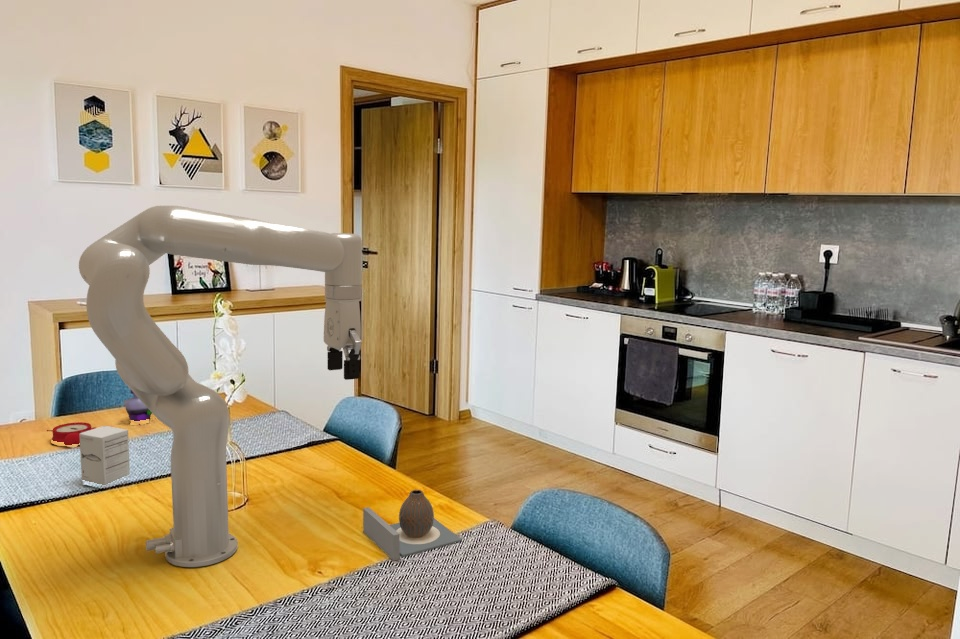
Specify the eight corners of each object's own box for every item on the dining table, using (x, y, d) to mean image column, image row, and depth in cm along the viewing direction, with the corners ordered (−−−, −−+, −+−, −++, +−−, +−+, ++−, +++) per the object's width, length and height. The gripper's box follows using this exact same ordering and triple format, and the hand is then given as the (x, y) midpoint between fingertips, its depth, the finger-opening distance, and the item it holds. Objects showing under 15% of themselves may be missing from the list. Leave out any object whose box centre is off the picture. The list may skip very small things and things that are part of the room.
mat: (402, 557, 132) (402, 554, 132) (373, 530, 142) (373, 528, 142) (462, 541, 139) (462, 539, 139) (430, 517, 149) (430, 515, 149)
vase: (428, 543, 136) (428, 500, 135) (394, 539, 138) (394, 496, 136) (437, 528, 143) (438, 487, 142) (404, 524, 144) (405, 483, 143)
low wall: (393, 561, 130) (393, 535, 129) (363, 531, 142) (363, 508, 141) (399, 559, 131) (399, 533, 130) (368, 530, 142) (368, 507, 142)
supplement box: (80, 486, 162) (77, 433, 160) (108, 475, 168) (105, 424, 167) (104, 491, 159) (101, 437, 157) (131, 480, 166) (129, 428, 164)
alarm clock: (78, 420, 200) (107, 417, 192) (82, 441, 200) (111, 439, 192) (39, 429, 191) (68, 426, 183) (44, 451, 191) (73, 450, 183)
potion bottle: (151, 426, 207) (149, 386, 205) (120, 427, 206) (117, 387, 204) (159, 418, 216) (157, 379, 214) (128, 419, 214) (126, 380, 212)
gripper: (312, 289, 151) (312, 367, 153) (340, 298, 136) (340, 384, 139) (345, 288, 155) (345, 365, 157) (376, 297, 140) (376, 381, 143)
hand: (343, 374), depth 148 cm, fingers open, 9 cm apart
